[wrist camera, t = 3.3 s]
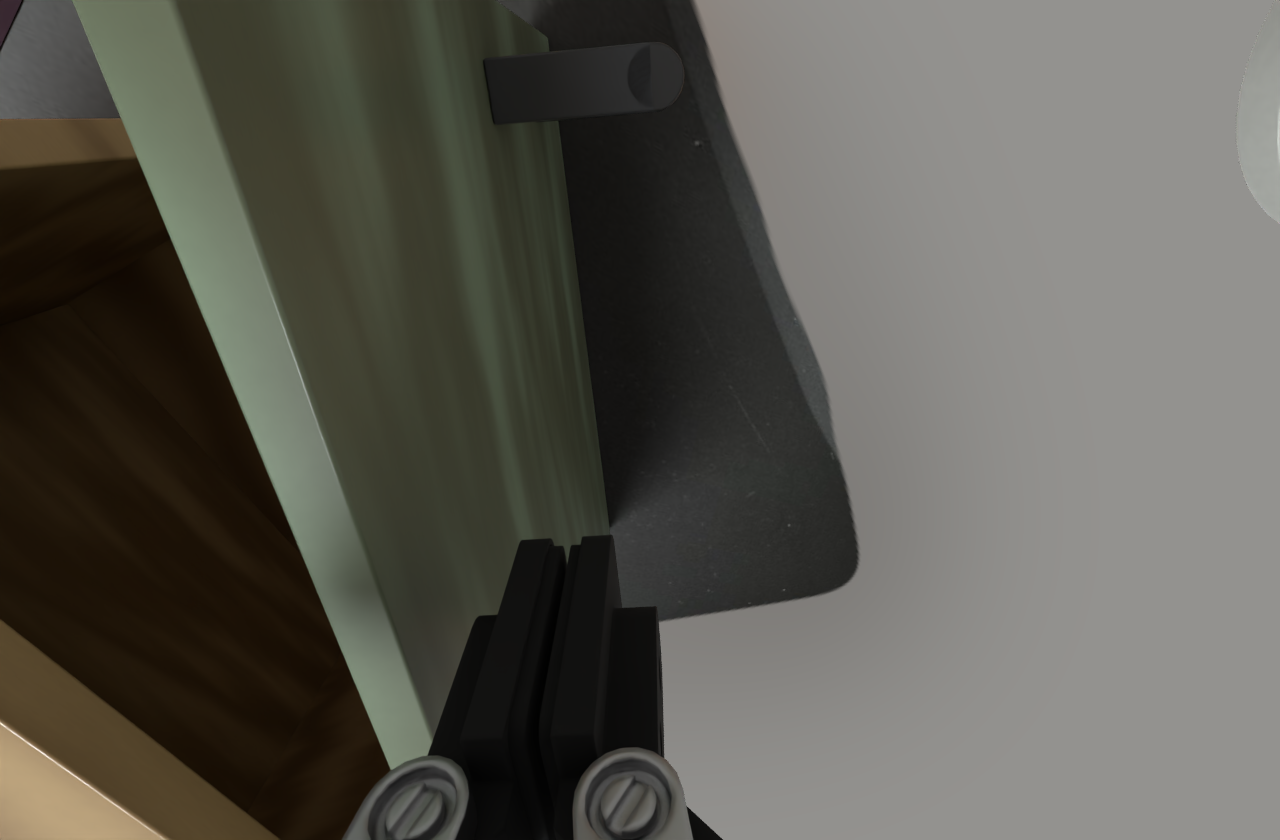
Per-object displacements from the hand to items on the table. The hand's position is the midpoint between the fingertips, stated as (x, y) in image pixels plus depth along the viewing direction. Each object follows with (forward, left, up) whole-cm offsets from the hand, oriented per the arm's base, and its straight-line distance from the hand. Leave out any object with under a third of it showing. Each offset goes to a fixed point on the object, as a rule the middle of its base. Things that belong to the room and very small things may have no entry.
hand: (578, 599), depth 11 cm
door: (+1, +2, -22) cm, 22 cm away
